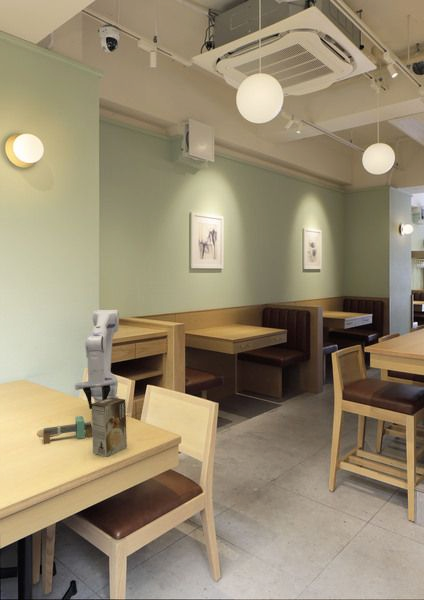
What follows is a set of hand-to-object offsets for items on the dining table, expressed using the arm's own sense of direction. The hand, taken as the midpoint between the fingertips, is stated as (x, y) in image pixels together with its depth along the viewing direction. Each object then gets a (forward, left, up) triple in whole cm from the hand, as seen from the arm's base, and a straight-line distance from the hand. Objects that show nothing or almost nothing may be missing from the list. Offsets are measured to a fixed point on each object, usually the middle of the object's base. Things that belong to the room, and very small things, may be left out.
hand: (97, 407), depth 153 cm
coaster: (+16, -8, -9) cm, 20 cm away
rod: (+10, 0, -9) cm, 14 cm away
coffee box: (-1, +17, -10) cm, 20 cm away
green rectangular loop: (+6, 0, -9) cm, 11 cm away
